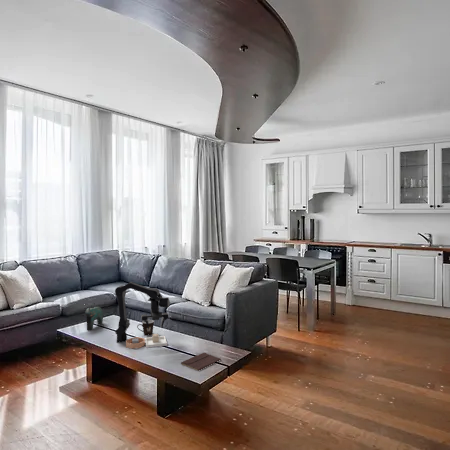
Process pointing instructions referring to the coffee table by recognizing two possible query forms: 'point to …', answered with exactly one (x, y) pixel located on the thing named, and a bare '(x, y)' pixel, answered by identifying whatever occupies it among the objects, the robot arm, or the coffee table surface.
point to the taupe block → (155, 338)
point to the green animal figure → (94, 316)
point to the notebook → (200, 361)
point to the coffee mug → (145, 328)
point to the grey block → (135, 341)
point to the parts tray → (154, 344)
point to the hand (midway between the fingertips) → (155, 328)
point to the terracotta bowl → (135, 345)
